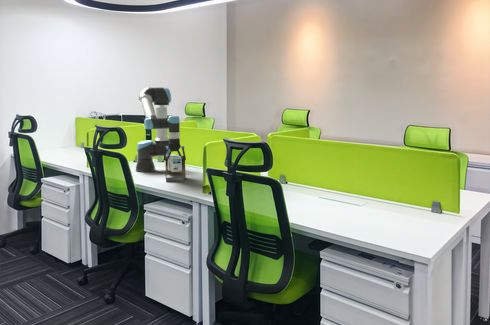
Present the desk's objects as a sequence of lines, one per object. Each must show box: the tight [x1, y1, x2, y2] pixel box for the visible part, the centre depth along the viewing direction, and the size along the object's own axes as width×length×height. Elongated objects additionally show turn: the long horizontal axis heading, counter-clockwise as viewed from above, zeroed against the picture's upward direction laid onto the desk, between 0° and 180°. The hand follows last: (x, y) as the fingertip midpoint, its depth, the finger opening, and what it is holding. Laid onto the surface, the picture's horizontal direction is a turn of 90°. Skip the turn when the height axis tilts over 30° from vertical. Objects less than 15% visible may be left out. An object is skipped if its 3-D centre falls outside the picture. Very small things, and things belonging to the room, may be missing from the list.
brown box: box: [164, 155, 186, 183], centre depth 309 cm, size 14×14×16 cm
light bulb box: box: [168, 154, 182, 172], centre depth 307 cm, size 11×7×11 cm, turn 27°
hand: (174, 170), depth 308 cm, fingers closed on light bulb box, 8 cm apart
